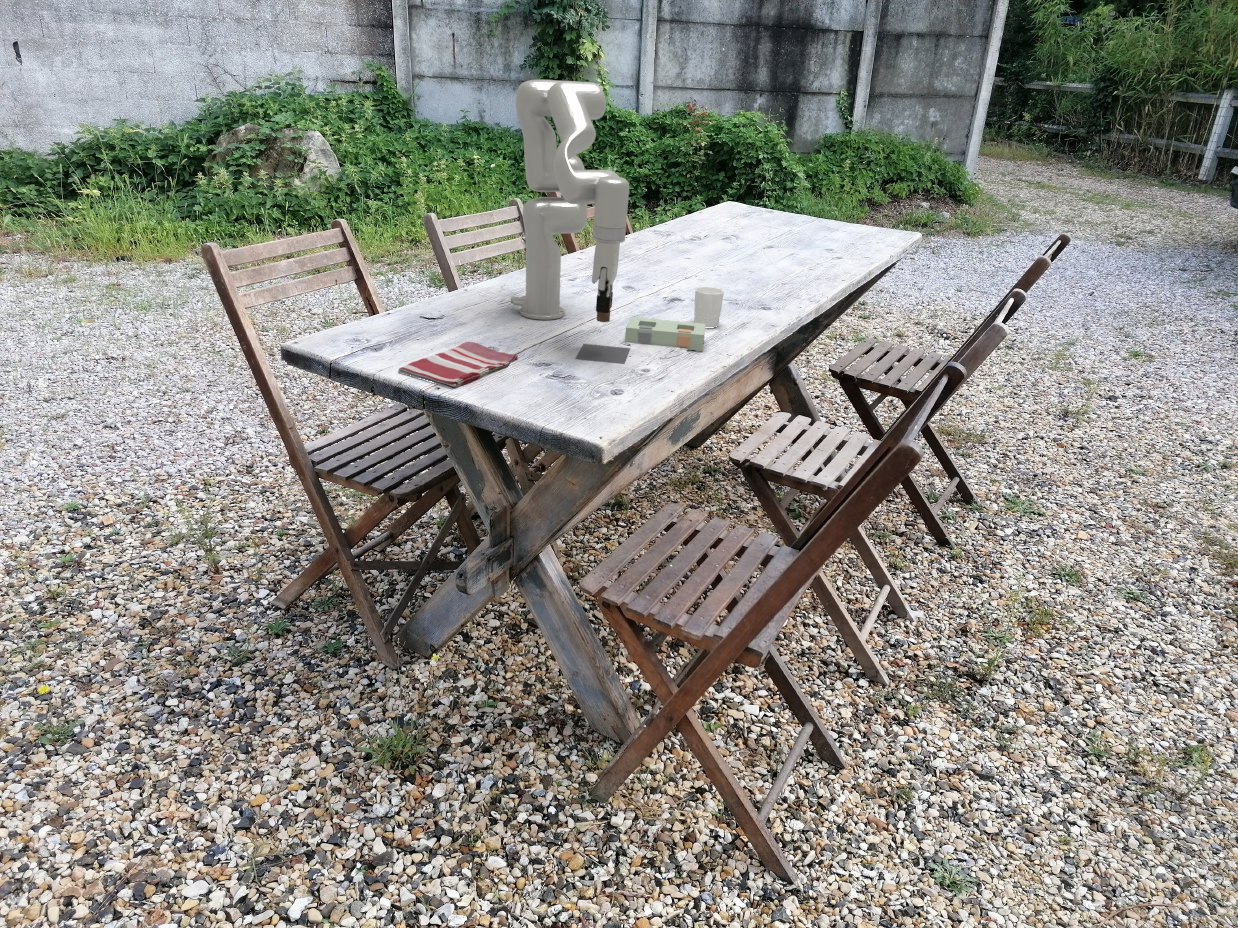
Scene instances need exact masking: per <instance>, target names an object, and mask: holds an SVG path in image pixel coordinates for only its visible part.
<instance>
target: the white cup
mask: <svg viewBox="0 0 1238 928" xmlns="http://www.w3.org/2000/svg"><path fill="white" fill-rule="evenodd" d="M724 293H725V291H724V290H723V289H722V288H718V287H714V286H699V287H696V288H695V293H694V294H695V295H694V309H693V310H694V311H693V313H694V315H693V316H694V320H693V323H702V324H706V326H705V327H716V326H718V327H719V321H720V317H721V311H722V308H723V301H724V300H723V299H724Z"/></svg>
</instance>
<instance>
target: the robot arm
mask: <svg viewBox="0 0 1238 928" xmlns="http://www.w3.org/2000/svg"><path fill="white" fill-rule="evenodd" d="M606 109H607V99H606V94H605V92H604V90H603V88H602V87H601V86H600V85H599V84H598V83H596V82H593V81H592V82H591V81H575V80H553V79H530V80H529V79H528V80H526V81H523V82H522V83H521V84H520V85H519V86H518V87H517V89H516V95H515V110H516V115H517V119H518V123H519V126H520V128H521V132H522V138H523V149H524V151H523V152H524V165H525V166H524V167H525V179H526V184H527V186H528V187H529V189H530V190H531V191H534V192H541V193H551V192H552V193H553V192H554V193H558V192H559V193H560V194H561V196H558V197H557V196H550V197H549V196H542V197H535V198H531V199H529V200H527V201H526V202H525V203H524V205H523V207H522V220H523V229H524V235H525V296H523V295H522V297H520V296H519V297H518V296H514V295H513V296H511V297H510V303H511V304H512V305H513V306H521V307H520V308H519V314H520V315H521V316H522V317H525V318H527V319H533V320H542V321H546V320H548V321H549V320H556V319H560V318H563V317H564V316H566V309H564V308H563V307H562V306H560V304H561V302H560V301H561V300H560V299H561V298H560V297H561V265H562V263H561V262H562V253H561V252H562V251H561V249H560V248H561V247H560V246H559V244H558V243H557V241H556V240H555V238H554V235H558V234H559V235H560V234H561V235H562V234H577V233H581V232H582V231H584V229H585V228H586V226H587V222H588V205H593V204H594V209H593V210H594V211H593V212H594V213H593V227H592V239H593V241H596V242H595V247H594V254H593V266H592V275H591V276H592V277H591V283H592V284H596V283H597V282H598V283H597V295H596V304H595V305H596V306H595V312H596V313H597V312H601V313H609V311H610V312H611V309H610V296H609V294H610V285H612V290H613V287H614V282H615V280H616V278H617V275H618V269H619V260H620V259H619V258H620V246H621V244H622V243H624V242H625V241H626V233H627V231H626V230H627V219H628V218H627V217H628V208H629V207H628V206H629V194H630V183H629V181H628V180H627V179H626V178H624V177H622V176H619V175H618V173H616V172H615V171H613V170H609V169H585V165H584V162H583V161H582V159H581V158H580V157H579V156H577V155H578V154H580V153H582V152H585V151H586V150H588V148H591V146H592V145H593V143H594V142H595V139H596V136H597V132H596V129H595V126H594V124H593V120H600V119H601V118H603V116H604V115H605V112H606ZM546 117H552V121H553V123H554V126H555V129H556V131H557V133H558V137H559V139H560V143H559V145H558V147H557V136H556V132H555V130H554V129H553V126H552V125H551V124H550V122H549V121H548V119H546ZM620 243H621V244H620ZM606 281H609V282H608V283H606ZM605 286H606V287H607V288H605ZM613 293H614V292H613V291H612V294H611V308H612V307H613V298H614V297H613V295H614V294H613Z"/></svg>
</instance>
